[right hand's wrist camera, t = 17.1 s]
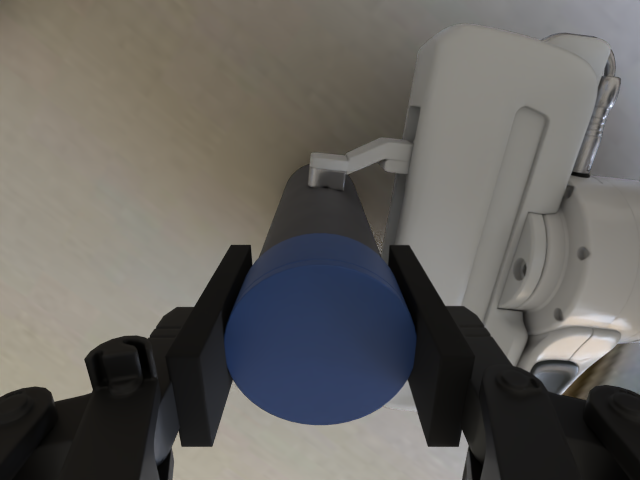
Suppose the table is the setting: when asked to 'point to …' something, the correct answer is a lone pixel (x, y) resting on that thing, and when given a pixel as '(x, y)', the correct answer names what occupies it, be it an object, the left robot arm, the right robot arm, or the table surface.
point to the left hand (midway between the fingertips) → (303, 229)
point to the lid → (320, 331)
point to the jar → (319, 213)
